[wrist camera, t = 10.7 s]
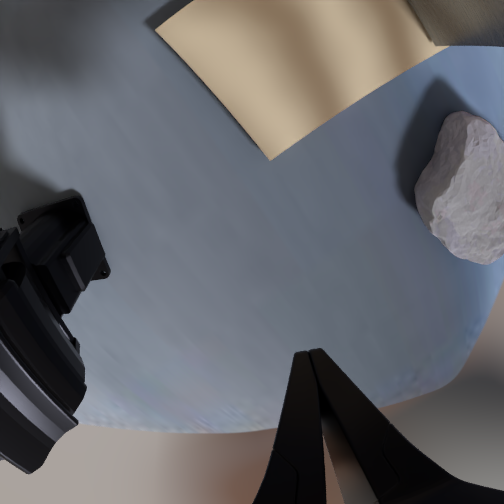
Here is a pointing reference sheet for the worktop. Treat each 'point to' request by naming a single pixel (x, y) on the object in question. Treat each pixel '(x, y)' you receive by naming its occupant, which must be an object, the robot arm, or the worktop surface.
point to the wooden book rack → (295, 57)
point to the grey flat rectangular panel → (462, 21)
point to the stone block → (465, 189)
